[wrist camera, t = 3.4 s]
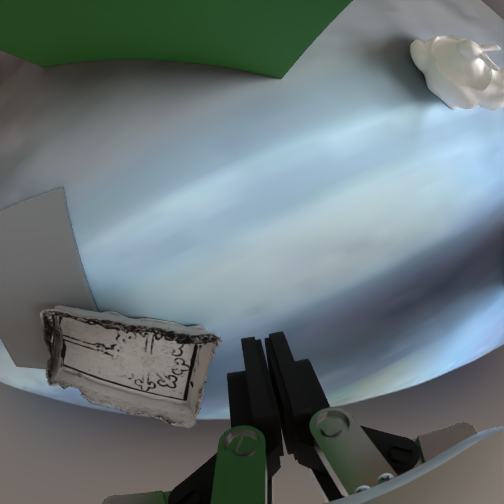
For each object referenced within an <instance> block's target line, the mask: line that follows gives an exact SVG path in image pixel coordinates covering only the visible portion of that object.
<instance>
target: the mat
mask: <svg viewBox="0 0 504 504" xmlns="http://www.w3.org/2000/svg"><path fill="white" fill-rule="evenodd" d="M57 305H62V306H66V307H71V308H76V307H77V308H78V309H83V310H88V311H94V312H98V309H97V306H96V304H95V301H94V298H93V296H92V293H91V290H90V287H89V284H88V281H87V278H86V275H85V272H84V269H83V266H82V262H81V259H80V256H79V252H78V249H77V245H76V241H75V238H74V234H73V230H72V226H71V221H70V217H69V213H68V208H67V203H66V198H65V193H64V187H60V188H57V189H54V190H51V191H48V192H45V193H43V194H40V195H37V196H35V197H32V198H29V199H27V200H24V201H22V202H19V203H17V204H14V205H12V206H10V207H7V208H5V209H3V210H0V338H1V340H2V342H3V344H4V346H5V348H6V349H7V351H8V353H9V355H10V357H11V358H12V360H13V362H14V363H15V365H16V366H17V367H27V368H39V369H46V366H47V359H48V358H49V352H48V349H47V346H46V344H45V340H44V336H43V330H42V321H41V317H40V313H41V312H42V311H43V310H52V309H54V308H55V306H57Z"/></svg>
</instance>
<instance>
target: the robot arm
mask: <svg viewBox="0 0 504 504" xmlns="http://www.w3.org/2000/svg"><path fill="white" fill-rule="evenodd" d="M241 343H242V350H243V356H244V363H245V369H246V371H240V372H234V373H227V381H228V394H229V406H230V418H231V429H229V430H227V431H226V432H224V434H223V435H222V436H221V438H220V441H219V444H218V452H217V453H216V454H215V455H214V456H213V457H211V458H210V459H209V460H208V461H207V462H206V463H205V464H203V465H202V466H201V467H200V468H199V469H198V470H196V471H195V472H194V473H193V474H191V475H190V476H189V477H188V478H187V479H185V480H184V481H183V482H182V483H180V484H179V485H178V486H176V487H175V488H174V489H173V490H172V491H169V492H163V491H155V492H147V493H137V494H126V495H113V496H109V497H107V498H106V499H104V501H103V502H102V504H273V475H274V474H275V473H276V472H277V471H278V470H279V469H280V467H281V466H280V457H279V456H284V453H283V445H282V434H281V429H282V433H283V437H284V441H285V445H286V449H287V453H288V454H294V458H295V460H298V463H299V464H301V465H303V466H306V467H308V470H309V472H310V474H311V476H312V478H313V480H314V481H315V483H316V485H317V487H318V489H319V491H320V493H321V495H322V496H323V498H324V500H325V501H326V503H325V504H504V427H496V428H492V429H488V430H485V431H482V432H479V433H477V432H476V429H475V428H474V427H473V425H471V424H470V423H467V422H460V423H456V424H454V425H451V426H448V427H445V428H442V429H439V430H435V431H432V432H429V433H426V434H422V435H418V436H417V438H415V439H408V438H405V437H401V436H397V435H393V434H389V433H385V432H381V431H378V430H374V429H370V428H367V427H364V426H360V425H359V424H358V423H357V422H356V420H355V419H354V417H353V416H352V415H351V414H350V413H349V412H348V411H346V410H344V409H342V408H337V407H330V406H329V403H328V401H327V399H326V397H325V394H324V392H323V390H322V388H321V385H320V383H319V381H318V379H317V376H316V374H315V372H314V370H313V367H312V365H311V363H310V361H309V359H304V360H299V361H294V359H293V356H292V354H291V351H290V348H289V346H288V343H287V340H286V338H285V335H284V333H283V331H282V332H277V333H272V334H269V338H265V346H266V354H267V361H268V367H267V363H266V359H265V355H264V351H263V347H262V343H261V339H258V340H255V337H249V338H243V339H241ZM268 369H269V371H268Z"/></svg>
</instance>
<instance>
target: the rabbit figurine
mask: <svg viewBox="0 0 504 504" xmlns="http://www.w3.org/2000/svg"><path fill="white" fill-rule="evenodd" d="M491 50H500V47H499V46H498V45H495V44H489V45H482V46H480V45H478V44H476V43H475V42H473V41H470V40H463V39H462V38H459V37H457V36H437V37H434V38H432V39H430V40H428V41H426V42H423V41H421V40H418V39H416V40H414V41H413V42H412V43H411V46H410V54H411V57H412V59H413V61H414V63H415V65H416V66H417V68H418V69H419V70H420V71H421V72H423V74H424V76H425V81H426V84H427V87H428V88H429V90H430V91H431V92H432V93H434V94H435V95H436V96H438V97H439V98H440V99H441V100H442V101H444V102H445V103H446V104H447V105H448V106H449V107H450V108H451V109H456V107H459V108H463V109H473V108H474V107H476V105H477V104H478V105H479V106H480V107H482V108H485V109H488V110H497V109H500V108H502V107H504V67H503V68H502V69H500V68H499V67H497V66H496V65H495V64H494V63H493V62H492V61H491V60H490V59H489V57H488V56H487V54H486V53H485V52H484V51H491Z"/></svg>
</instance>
